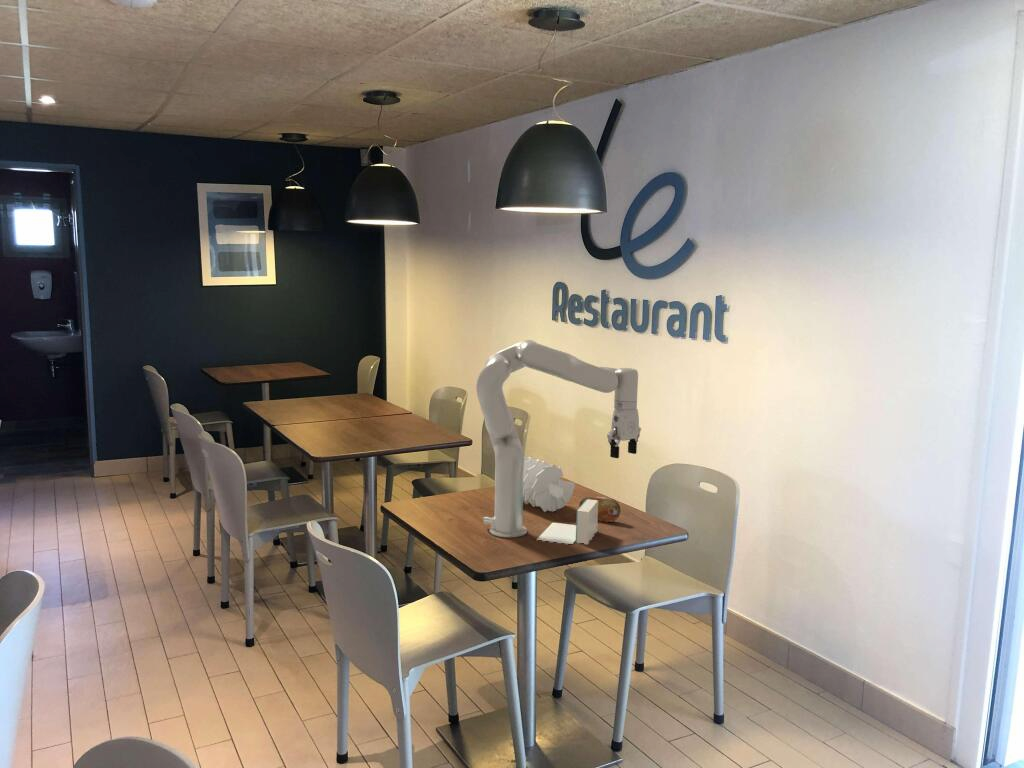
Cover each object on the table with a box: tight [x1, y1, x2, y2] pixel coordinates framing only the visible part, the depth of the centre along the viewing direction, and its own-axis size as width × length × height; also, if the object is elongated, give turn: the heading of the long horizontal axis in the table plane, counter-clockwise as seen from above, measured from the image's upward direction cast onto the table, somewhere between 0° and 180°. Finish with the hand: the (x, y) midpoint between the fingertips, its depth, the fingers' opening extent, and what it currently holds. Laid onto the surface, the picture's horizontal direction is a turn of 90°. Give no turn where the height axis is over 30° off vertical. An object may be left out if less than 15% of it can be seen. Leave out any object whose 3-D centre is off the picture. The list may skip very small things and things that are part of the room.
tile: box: [575, 499, 599, 545], centre depth 269 cm, size 4×14×11 cm, turn 161°
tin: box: [578, 495, 621, 523], centre depth 288 cm, size 15×3×8 cm, turn 62°
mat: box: [536, 522, 576, 545], centre depth 273 cm, size 12×19×1 cm, turn 161°
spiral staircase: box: [523, 454, 576, 513], centre depth 303 cm, size 18×18×25 cm
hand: (623, 455), depth 272 cm, fingers open, 9 cm apart
